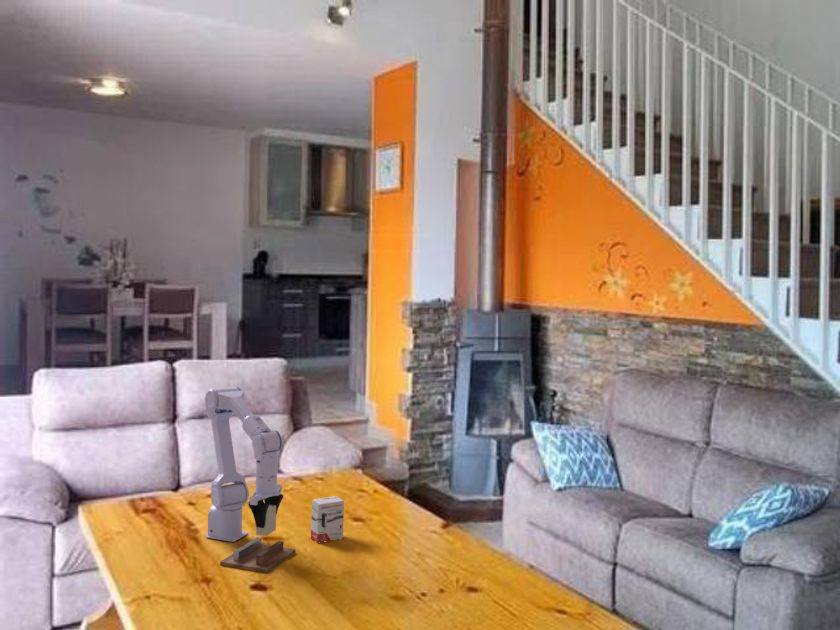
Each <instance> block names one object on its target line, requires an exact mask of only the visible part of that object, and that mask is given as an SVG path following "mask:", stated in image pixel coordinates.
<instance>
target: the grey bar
mask: <svg viewBox="0 0 840 630" xmlns="http://www.w3.org/2000/svg"><path fill="white" fill-rule="evenodd" d="M262 538H263V537H255V538H253V539H252V540H250V541H248V542H247V543H245V544H243V545H242V546H240V547H239V548H237V549H235V550H234V551H233V554H234V561H240V560H241V559H243V558H245V557H246V556H248V555H249V554H251V553H252V552H254V551H256V550H257V549H259V548H260V547H262V544H263V542H262Z"/></svg>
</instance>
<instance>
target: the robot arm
mask: <svg viewBox="0 0 840 630" xmlns="http://www.w3.org/2000/svg"><path fill="white" fill-rule="evenodd" d="M204 404H205V405H204V406H205V410H206V411H205V412H206V416H207V418H208V419H210V422H211V423H210V424H211V430H212V437H213V442H214V444H213V445H214V451H215V458H216V464H217V465H216V466H217V471H218V475H217V477H216V478H215V479H214V480H212V482H211V483H210V490H211V492H210V500H211V503H212V506H211V507H210V509H209V511H208V514H207V515H208V516H207V535H206V536H205V538H208V539H212V540H218V541H219V540H220V541H225V542H229V543H235V542H236V541H238V540H240V539H242V538H243V537H245V536H247V535H249V533H248V532H249V531H243V507H245V504H246V503H247V502H248V507H249V509H250V510H251V512H252V515H253V518H254V524H255V528H256V527H259V528H264V526H265V519H266V513H267V509H268V507H269V505H270V504H271V505H276V516H277V514H278V510H279V507H280V505H281V502H282V501H283V499H284V495H283V494H282V493H281V492H283V484H278V456H279V455H278V454H279V453H278V452H279V451H281V450H282V448H283V447H282V446H283V438H282V436H281V434H280V432H279V431H278V430H276V429H275V430H274V429H273V428H270V427H269V426H268V425H267V424H266V423H265V421H264V419H262V417H261V416H260V415H258V414H253V412H252V411H251V409H250V407H249V406H248V404H247V403H246V401H245V392H244V391H243V390H242V388H241V387H240V386H238V385H235V386H228V387H219V388H218V387H217V388H212V387H211V388H209V389H208V390H207V392H206V394H205V397H204ZM233 415H235V416H236V417H237V418H238V419H239V420H240V422H242V424H241V425H242V426H241V427H242V429H243V431H244V432H245V434H246V435H247V436H248V438H250V440H251V444H252V448H253V454H254V456H253V457H254V459H255V467H256V468H255V491H254V492H253V494H252V495H251V496H250V489H249V487H248V486H247V482H246V478H245V476H243V475H241V474H240V473H238V472H237V466H236V459H235V453H234V446H233V439H232V433H231V426H230V418H231V417H232V416H233ZM249 496H250V497H249ZM248 500H249V501H248Z"/></svg>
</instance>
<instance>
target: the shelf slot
mask: <svg viewBox="0 0 840 630" xmlns="http://www.w3.org/2000/svg"><path fill="white" fill-rule="evenodd" d="M296 552H297V551H296V549H295V548H289V547H284V541H282V540H277V541H276V542H275V543H273V544H264V543H262V547H260V548H259V549H257V550H256V551H254V552H252V553H251V554H249V555H248V556H246V557H245V558H243V559H241V560H240V561H234V553H232V554H230V555H229V556H227V557H225V558H224V559H222V560H220V562H219V563H220V564H219V565H220V566H222V565H223V566H224V567H228V568H234V569H240V570H245V571H251V572H256V573H257V572H258V573H263V574H268V573H269V572H270V571H272V570H273V569H276V567H278V566H280V564H282V563H283V562H285V561H286V560H287V558H288V559H289V558H291V557H292V556H293V555H295V554H296ZM294 553H295V554H294ZM223 566H222V567H223Z"/></svg>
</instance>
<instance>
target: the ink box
mask: <svg viewBox="0 0 840 630" xmlns="http://www.w3.org/2000/svg"><path fill="white" fill-rule="evenodd" d="M344 512H345V500H344V499H343V498H340V497H339V496H337V495H334V496H328V497H321V498H314V499H312V501H311V523H310V525H311V526H310V539H312V540H313V541H314V542H315V541H316V542H315V543H317V544H320V543H319V542H322V543H325V542H324V541H327V542H331V541H330V540H333V541H336V540H337V539H339V540H343V539H344V520H345V519H344V518H345V516H344ZM342 538H343V539H342ZM337 541H338V540H337Z"/></svg>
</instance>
